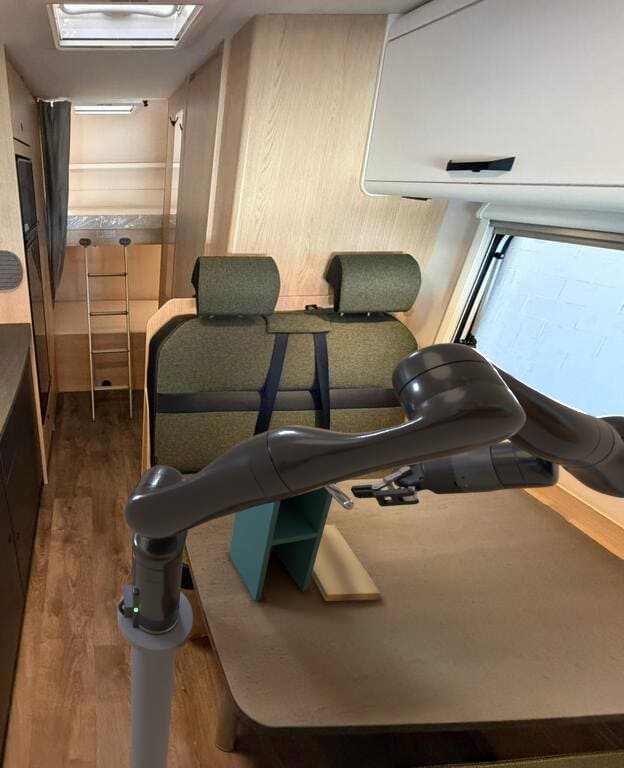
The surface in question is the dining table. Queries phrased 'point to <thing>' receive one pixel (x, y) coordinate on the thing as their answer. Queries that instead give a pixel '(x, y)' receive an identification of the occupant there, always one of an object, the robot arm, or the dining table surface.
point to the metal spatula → (340, 496)
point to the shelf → (280, 537)
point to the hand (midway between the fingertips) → (358, 477)
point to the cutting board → (341, 570)
